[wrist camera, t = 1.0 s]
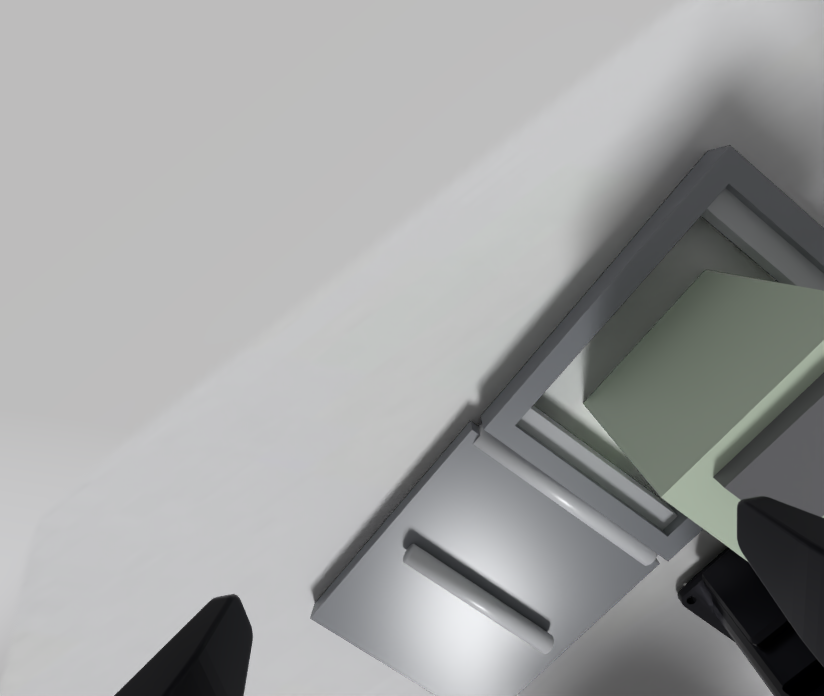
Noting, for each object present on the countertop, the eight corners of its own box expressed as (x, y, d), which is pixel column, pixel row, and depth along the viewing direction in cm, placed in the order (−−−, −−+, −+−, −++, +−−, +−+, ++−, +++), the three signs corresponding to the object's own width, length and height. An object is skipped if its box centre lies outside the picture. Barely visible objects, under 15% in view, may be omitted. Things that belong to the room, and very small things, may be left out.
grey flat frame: (898, 317, 21) (945, 327, 19) (482, 708, 28) (486, 744, 26) (703, 146, 19) (733, 138, 18) (314, 603, 26) (305, 634, 24)
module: (776, 329, 21) (996, 398, 13) (651, 454, 23) (773, 585, 15) (705, 269, 21) (887, 301, 12) (582, 403, 23) (670, 508, 14)
